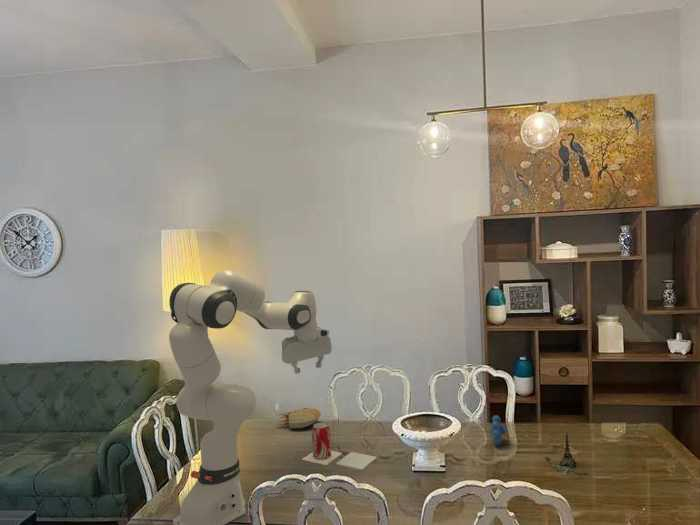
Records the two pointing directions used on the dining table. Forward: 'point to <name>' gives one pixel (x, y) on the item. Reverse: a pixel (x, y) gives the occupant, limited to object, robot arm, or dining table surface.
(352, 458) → the coaster
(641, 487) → the dining table surface
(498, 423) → the blue figurine
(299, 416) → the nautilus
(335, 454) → the card
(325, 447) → the soda can
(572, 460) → the eiffel tower figurine
